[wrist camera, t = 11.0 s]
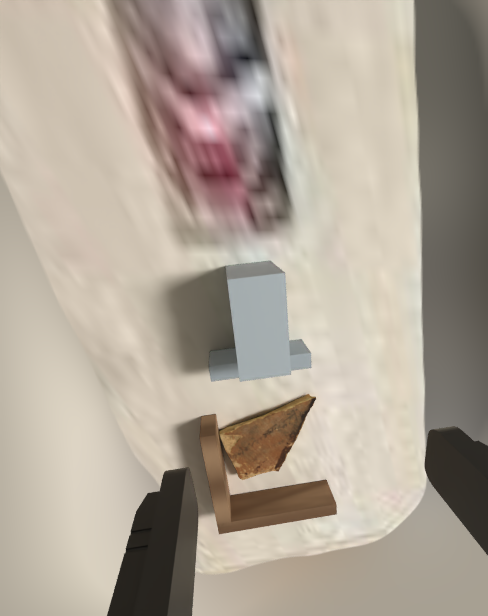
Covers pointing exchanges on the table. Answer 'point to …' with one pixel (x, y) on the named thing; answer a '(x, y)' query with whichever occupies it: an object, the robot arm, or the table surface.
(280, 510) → the corner fence
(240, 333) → the grey inverted t block
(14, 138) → the table surface
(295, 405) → the shard
